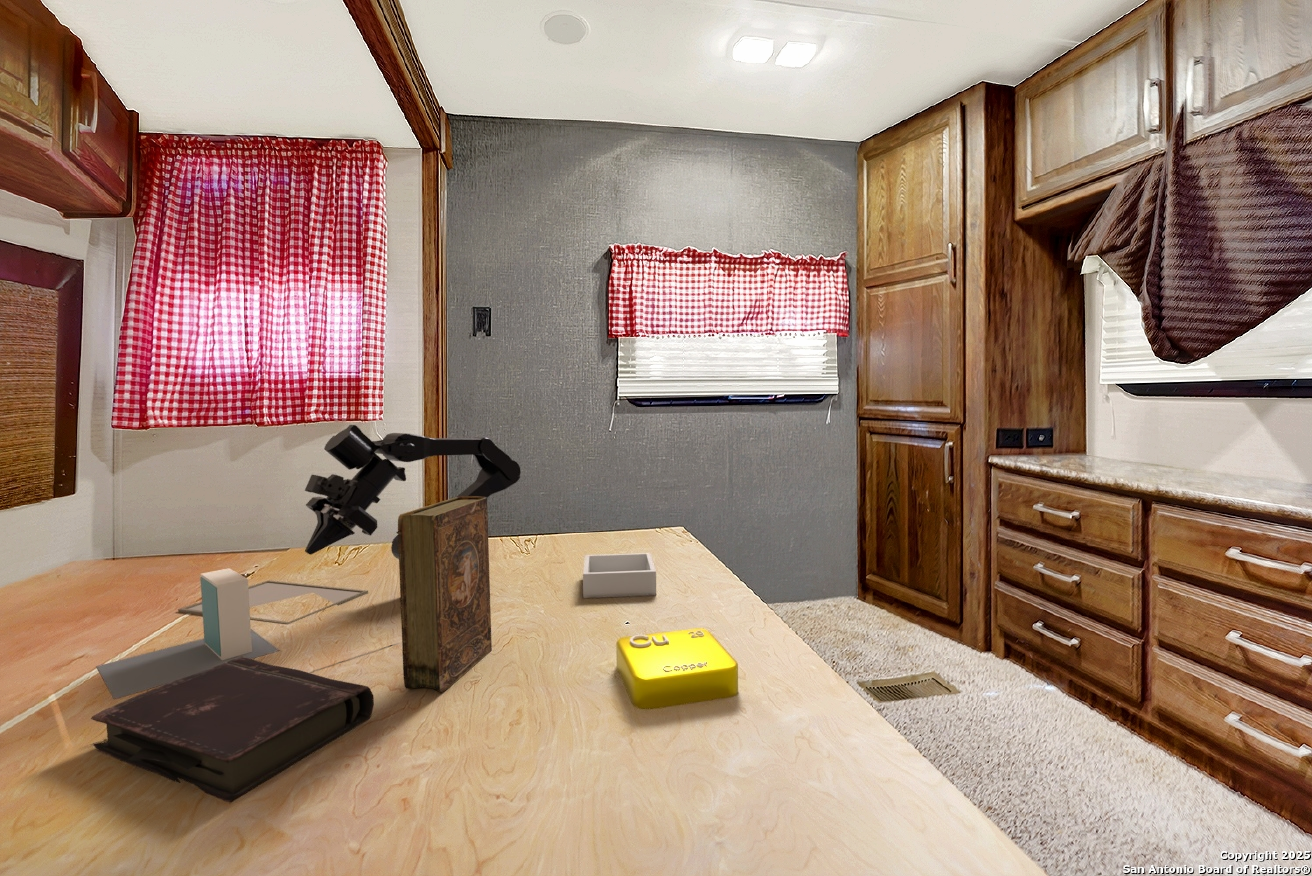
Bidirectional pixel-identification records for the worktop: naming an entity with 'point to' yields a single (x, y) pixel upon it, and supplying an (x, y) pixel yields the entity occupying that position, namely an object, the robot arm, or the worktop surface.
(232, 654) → the white rectangular block
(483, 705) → the worktop surface
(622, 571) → the dish
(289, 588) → the picture frame
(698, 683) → the element tile
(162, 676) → the mat
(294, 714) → the diary
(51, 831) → the worktop surface
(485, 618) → the book
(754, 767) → the worktop surface
